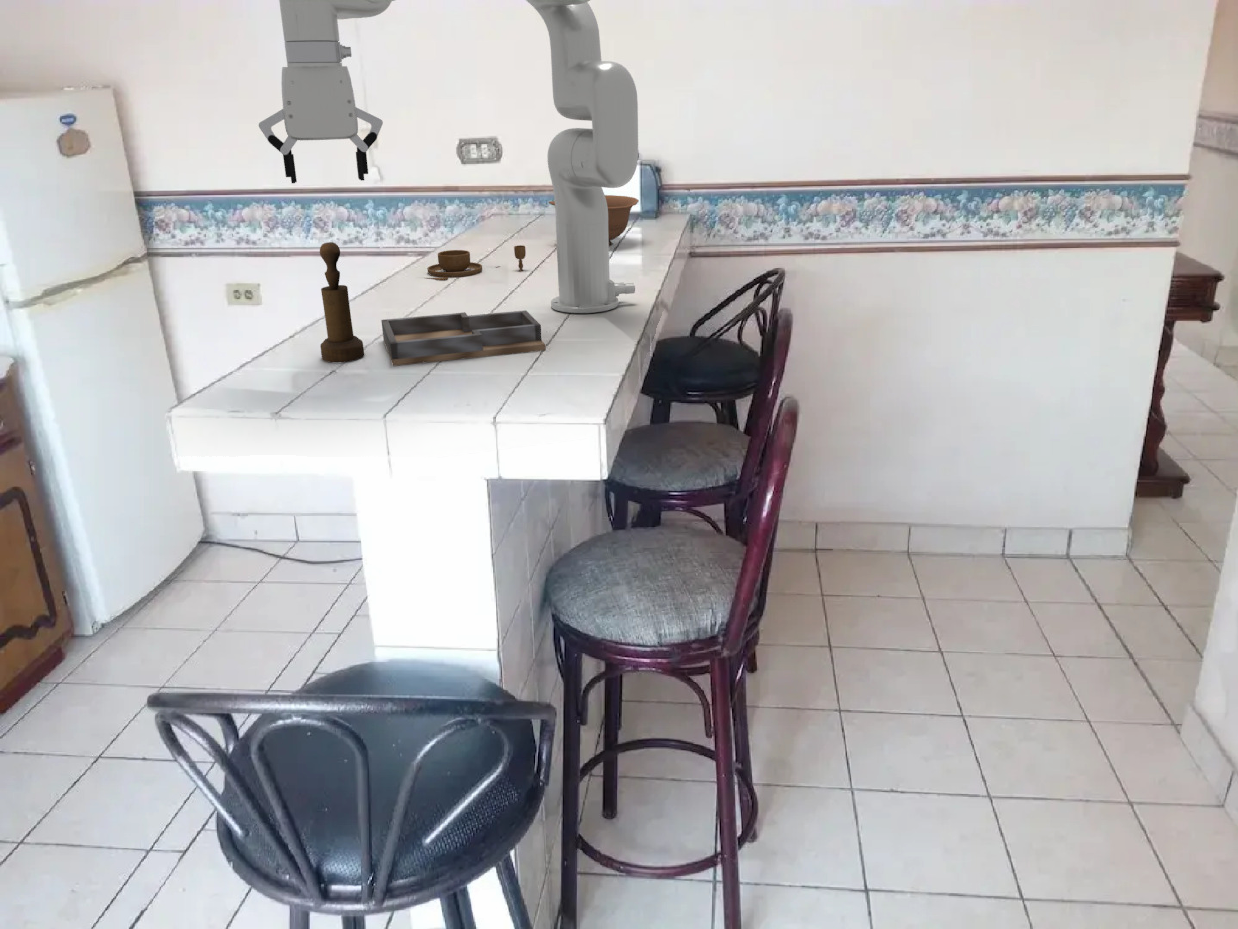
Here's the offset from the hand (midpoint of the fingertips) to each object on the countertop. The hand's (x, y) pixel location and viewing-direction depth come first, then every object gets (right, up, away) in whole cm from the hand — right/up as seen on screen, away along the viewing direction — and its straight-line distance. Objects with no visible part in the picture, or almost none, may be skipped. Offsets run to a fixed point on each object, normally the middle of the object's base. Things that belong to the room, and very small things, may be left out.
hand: (328, 180), depth 150 cm
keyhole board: (+17, -22, +16) cm, 33 cm away
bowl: (+37, +12, +101) cm, 109 cm away
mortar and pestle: (-1, -25, +11) cm, 27 cm away
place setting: (+11, -1, +72) cm, 72 cm away
